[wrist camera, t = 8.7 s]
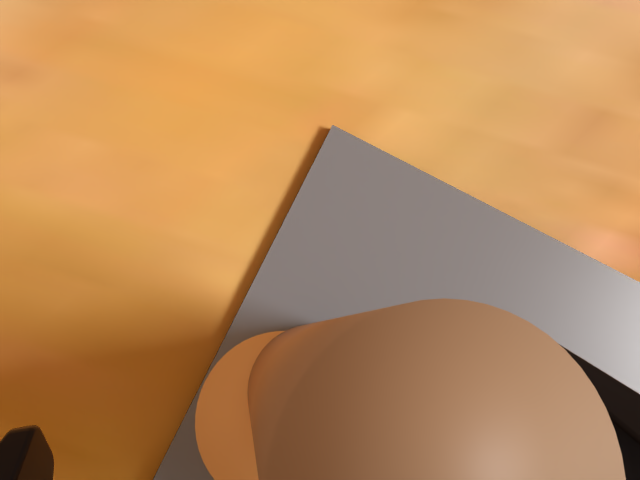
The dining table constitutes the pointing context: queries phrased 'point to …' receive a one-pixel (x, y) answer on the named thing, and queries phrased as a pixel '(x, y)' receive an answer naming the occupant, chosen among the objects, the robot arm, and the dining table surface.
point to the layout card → (396, 286)
